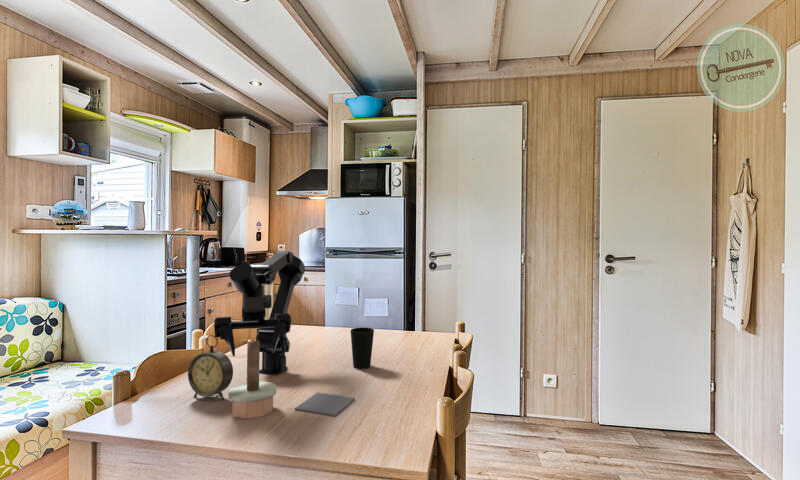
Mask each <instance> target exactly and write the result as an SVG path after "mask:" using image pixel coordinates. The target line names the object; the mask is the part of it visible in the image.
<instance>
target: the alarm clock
mask: <svg viewBox="0 0 800 480" xmlns="http://www.w3.org/2000/svg"><path fill="white" fill-rule="evenodd" d="M210 337H213V338H214V339H215V340H216V344H215V345H209V342H208V340H209V338H210ZM205 341H206V342H205V343H206V345H207V347H209V351H206V352H202V353H199V354H197V355H196V356H195V357H193V359H191V362H190V363H189V366H188V369H187V379H188V383H189V386H190V387H191V389H192V390H193V392H195V393H194V395H193V398H197V396H198V395H199V396H200V397H204V398H209V397H213V396H215V395H219V397H220V398H221V401H225V397H224V395H223V392H224V391H225V390H226V389H227V388H228V387H229V386H230V385H231V383H232V380H233V376H234V367H233V363H232V361H231V359H230V358H229V357H228V355H226V353H224V352H222V351H219V350H214V348H216V347H217V346H218V344H219V342H218V341H219V340H218V337H215V334H214V335H213V334H211V335H208V336H207V337H206V340H205Z"/></svg>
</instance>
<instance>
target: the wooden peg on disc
mask: <svg viewBox="0 0 800 480" xmlns="http://www.w3.org/2000/svg"><path fill="white" fill-rule="evenodd" d="M246 343H247V345H246V347H247V349H246V352H247V355H246V382H244V383H239V384H236V385H234V386H232V387H231V388H229V389H228V395H227V397H228V398H229V400H230V401H232V400H233V401H237V402H255V401H261V400H264V399H267V398H270V397H272V396H273V397H274V395H276V393H277V389H278V387H277V385H276V384H275V383H273V382H269V381H262V380H261V381H260V372H259V370H260V355H261V354H260V353H261V352H260V341H258V340H256V339H254V340H248V341H247V342H246Z"/></svg>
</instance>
